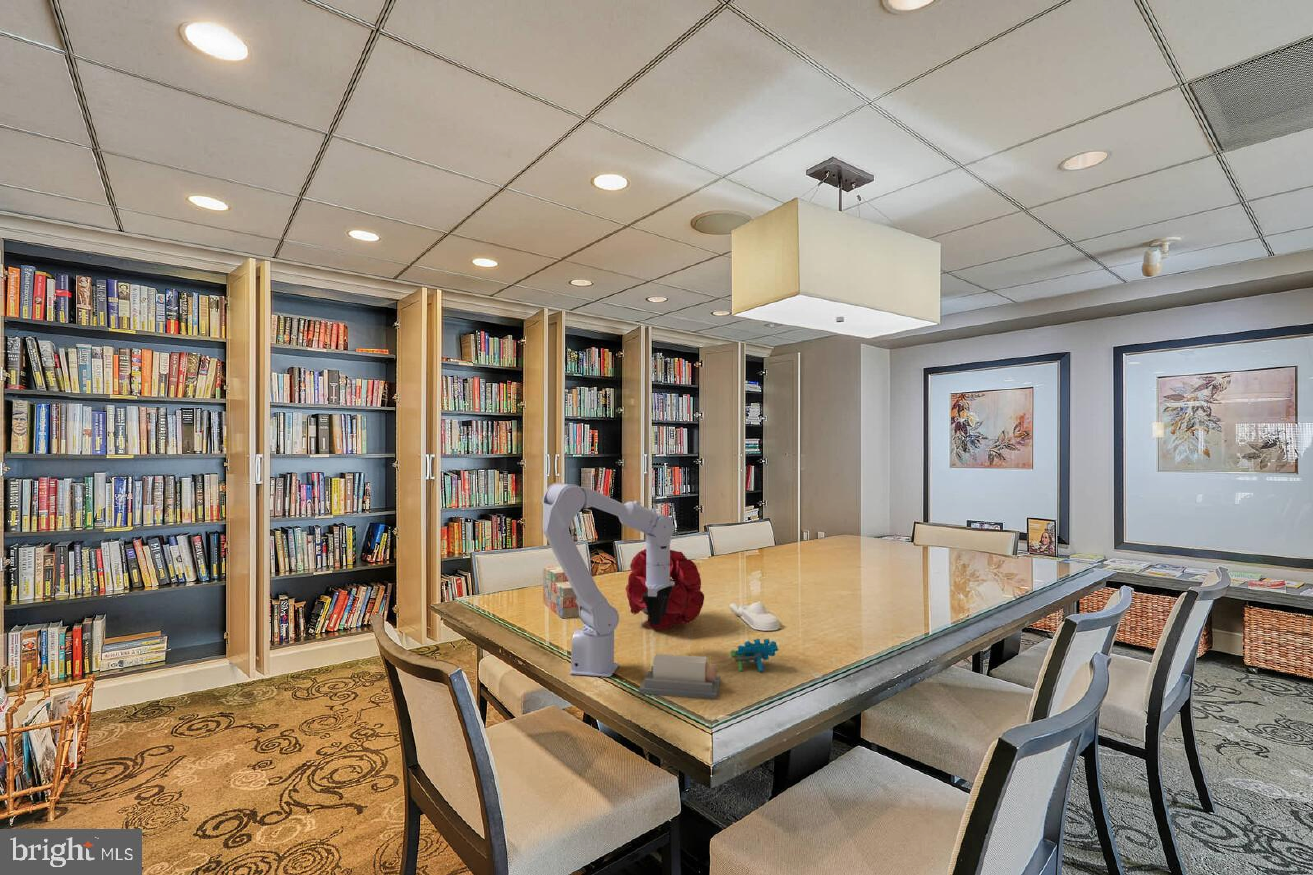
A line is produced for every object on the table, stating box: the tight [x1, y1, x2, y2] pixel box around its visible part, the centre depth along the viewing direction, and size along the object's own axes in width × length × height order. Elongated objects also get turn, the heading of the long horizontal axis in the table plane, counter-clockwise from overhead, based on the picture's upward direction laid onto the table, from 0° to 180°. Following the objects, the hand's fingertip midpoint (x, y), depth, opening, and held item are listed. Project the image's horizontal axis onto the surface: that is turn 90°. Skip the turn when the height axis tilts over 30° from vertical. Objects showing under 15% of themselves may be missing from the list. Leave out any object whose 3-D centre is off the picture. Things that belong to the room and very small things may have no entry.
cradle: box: [638, 665, 721, 700], centre depth 126 cm, size 16×10×2 cm, turn 79°
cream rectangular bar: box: [652, 653, 717, 682], centre depth 126 cm, size 13×4×5 cm, turn 79°
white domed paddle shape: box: [729, 600, 782, 632], centre depth 176 cm, size 10×20×6 cm, turn 11°
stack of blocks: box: [542, 565, 580, 619], centre depth 189 cm, size 21×6×12 cm, turn 27°
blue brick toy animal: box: [730, 638, 779, 673], centre depth 137 cm, size 11×6×10 cm
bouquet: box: [625, 548, 705, 630], centre depth 174 cm, size 22×24×30 cm
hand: (657, 619), depth 144 cm, fingers open, 7 cm apart
